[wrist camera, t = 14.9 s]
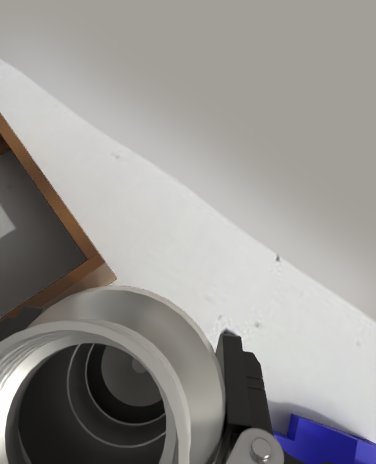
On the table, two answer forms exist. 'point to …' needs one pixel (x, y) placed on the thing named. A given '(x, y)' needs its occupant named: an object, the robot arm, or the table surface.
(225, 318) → the table surface
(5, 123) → the open box
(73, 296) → the silver metal bottle
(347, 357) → the table surface
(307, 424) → the blue cradle bracket
